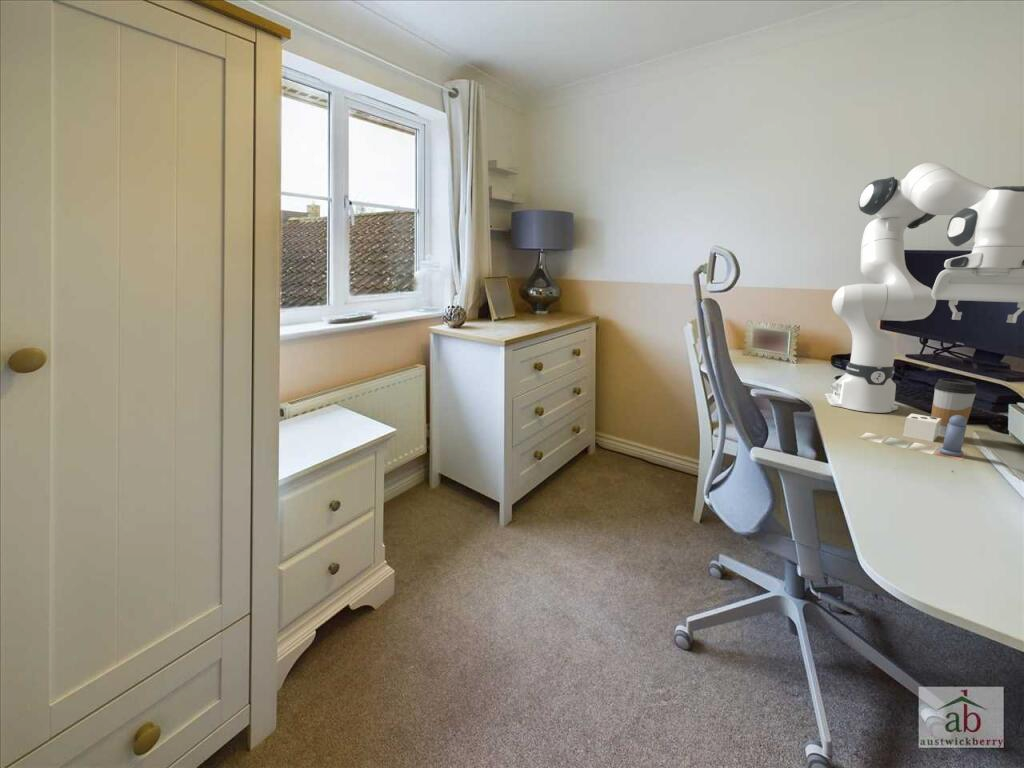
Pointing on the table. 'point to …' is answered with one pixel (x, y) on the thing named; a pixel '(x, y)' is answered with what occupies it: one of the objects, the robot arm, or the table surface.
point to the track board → (906, 445)
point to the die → (922, 427)
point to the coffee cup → (952, 400)
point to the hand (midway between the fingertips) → (982, 321)
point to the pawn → (954, 436)
